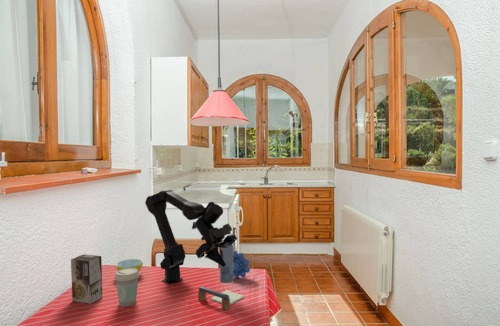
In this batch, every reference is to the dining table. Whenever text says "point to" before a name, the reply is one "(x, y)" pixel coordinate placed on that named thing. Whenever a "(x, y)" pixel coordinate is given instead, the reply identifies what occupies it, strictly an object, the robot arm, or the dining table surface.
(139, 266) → the bowl
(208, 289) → the bar
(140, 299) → the dining table surface
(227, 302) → the posts
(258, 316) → the dining table surface
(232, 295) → the mat
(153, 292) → the dining table surface
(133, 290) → the coffee cup
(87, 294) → the coffee box
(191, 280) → the dining table surface
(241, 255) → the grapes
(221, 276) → the canister
